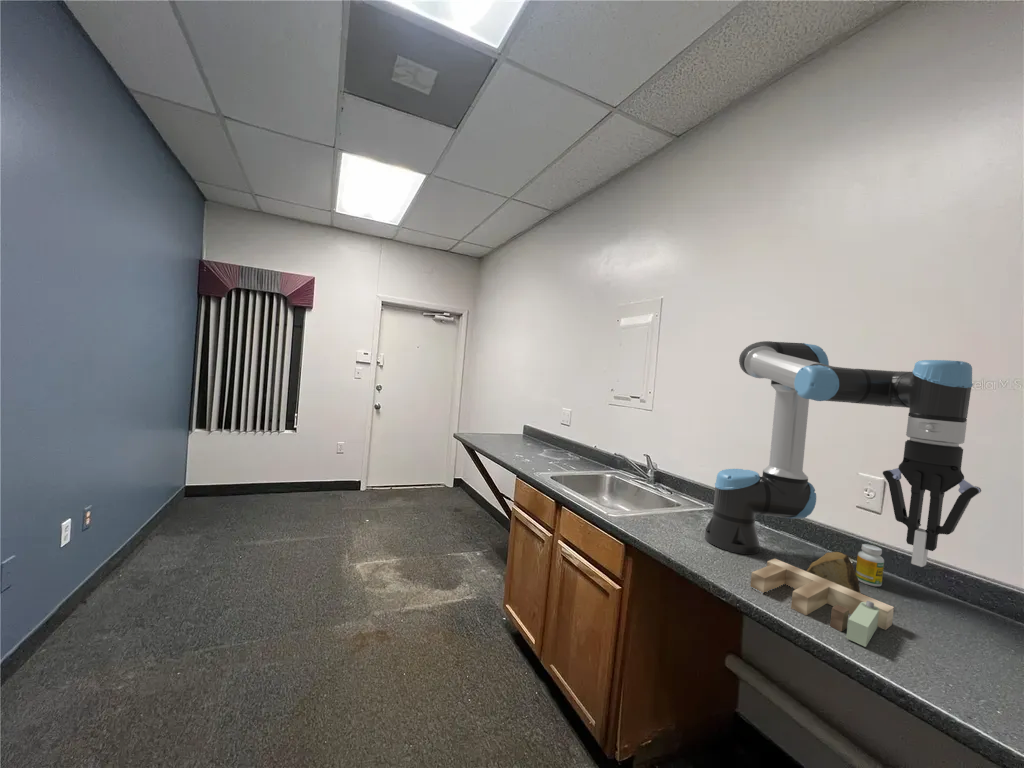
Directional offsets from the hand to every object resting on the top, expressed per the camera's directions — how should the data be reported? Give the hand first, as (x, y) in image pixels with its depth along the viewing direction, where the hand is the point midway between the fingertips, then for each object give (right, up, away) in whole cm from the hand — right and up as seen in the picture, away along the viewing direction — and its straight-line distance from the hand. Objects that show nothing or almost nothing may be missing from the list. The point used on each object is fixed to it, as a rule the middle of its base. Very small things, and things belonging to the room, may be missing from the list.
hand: (918, 563), depth 75 cm
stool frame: (-7, -17, +17) cm, 26 cm away
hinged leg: (-4, -18, +7) cm, 20 cm away
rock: (+5, -18, +27) cm, 33 cm away
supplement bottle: (+18, -19, +31) cm, 41 cm away
